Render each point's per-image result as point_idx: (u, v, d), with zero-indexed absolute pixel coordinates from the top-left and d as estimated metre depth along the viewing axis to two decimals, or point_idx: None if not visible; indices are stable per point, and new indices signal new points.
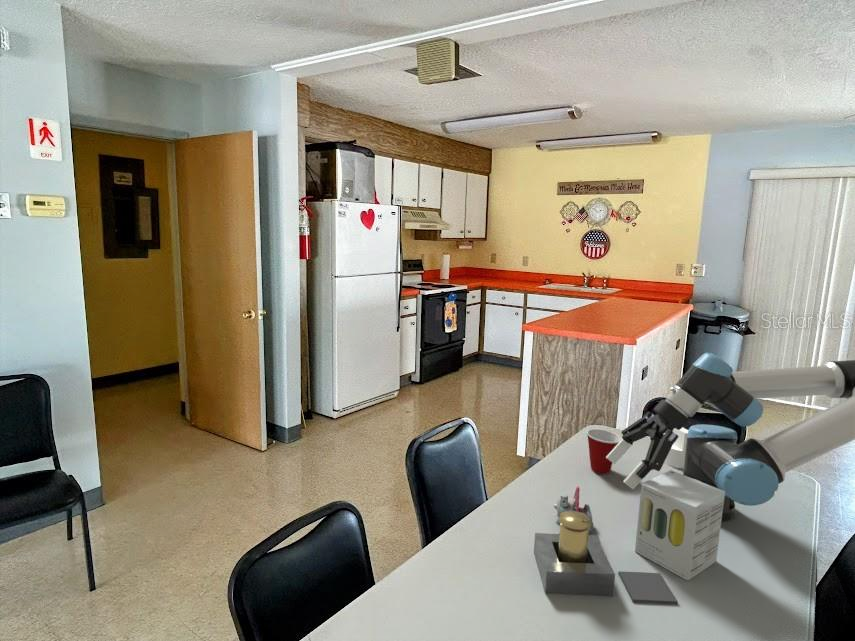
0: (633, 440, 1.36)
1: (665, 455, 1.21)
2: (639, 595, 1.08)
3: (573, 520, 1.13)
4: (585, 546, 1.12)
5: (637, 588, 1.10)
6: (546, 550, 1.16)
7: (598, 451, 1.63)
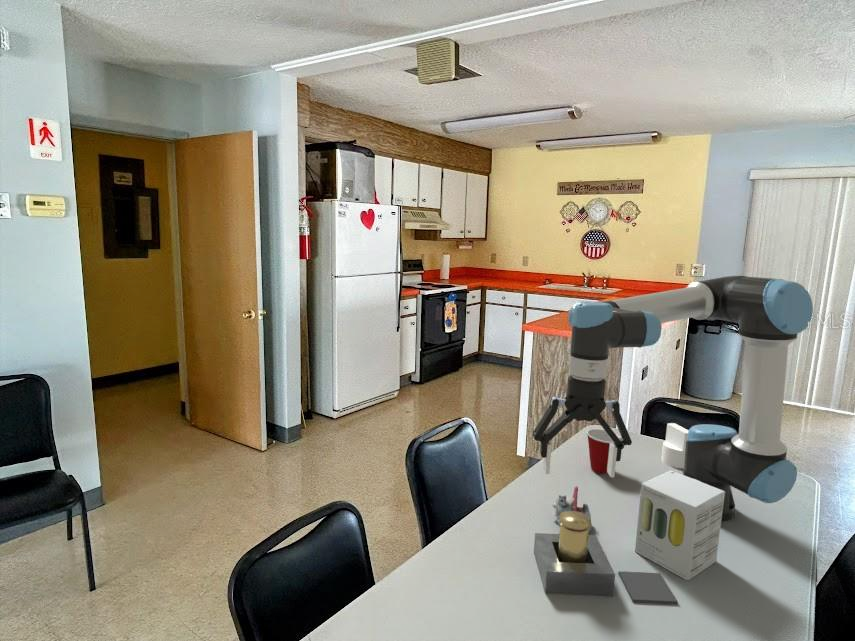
0: None
1: None
2: (639, 595, 1.08)
3: (573, 520, 1.13)
4: (585, 546, 1.12)
5: (637, 588, 1.10)
6: (546, 550, 1.16)
7: (598, 451, 1.63)
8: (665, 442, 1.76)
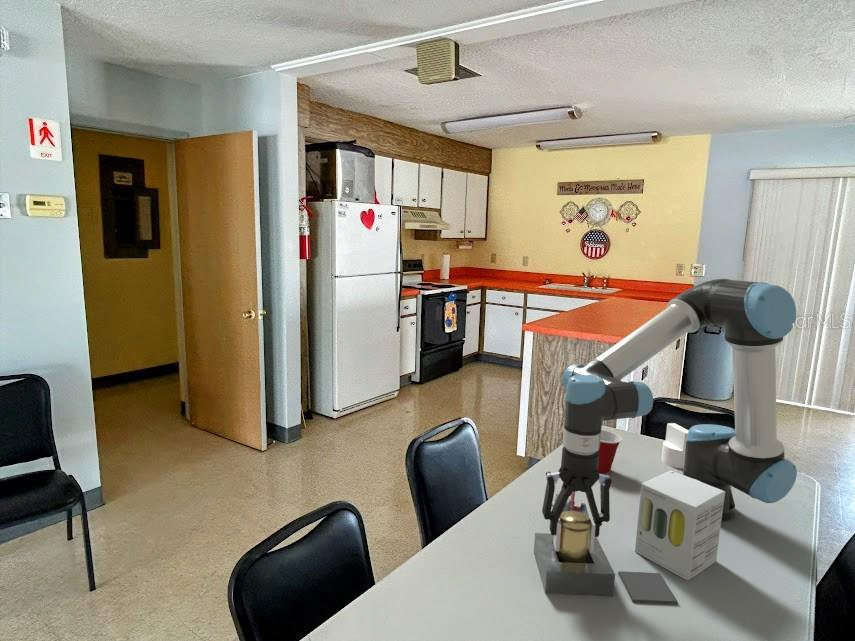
0: None
1: None
2: (639, 595, 1.08)
3: (573, 520, 1.13)
4: (585, 546, 1.12)
5: (637, 588, 1.10)
6: (546, 550, 1.16)
7: (598, 451, 1.63)
8: (665, 442, 1.76)
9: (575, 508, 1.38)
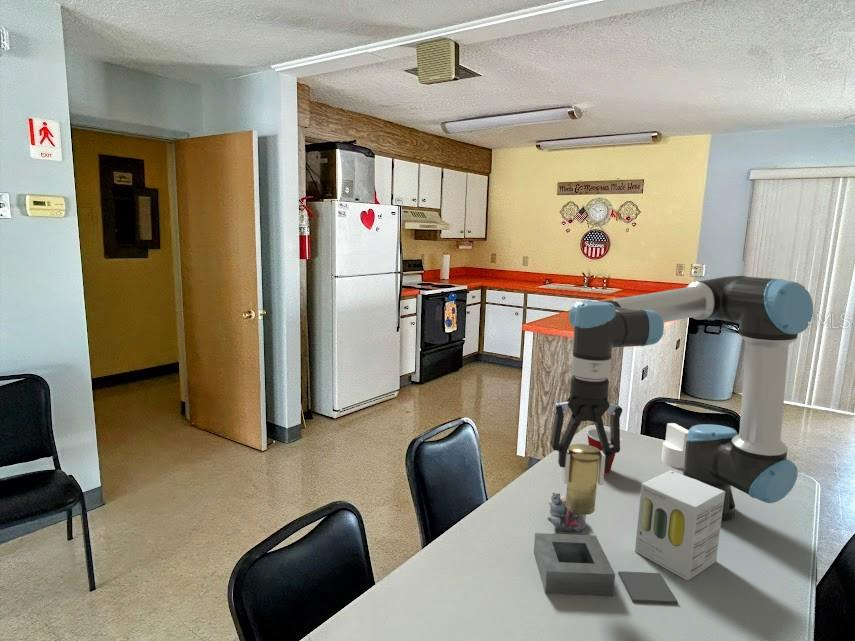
0: None
1: None
2: (639, 595, 1.08)
3: (582, 451, 1.10)
4: (594, 477, 1.09)
5: (637, 588, 1.10)
6: (546, 550, 1.16)
7: None
8: (665, 442, 1.76)
9: None
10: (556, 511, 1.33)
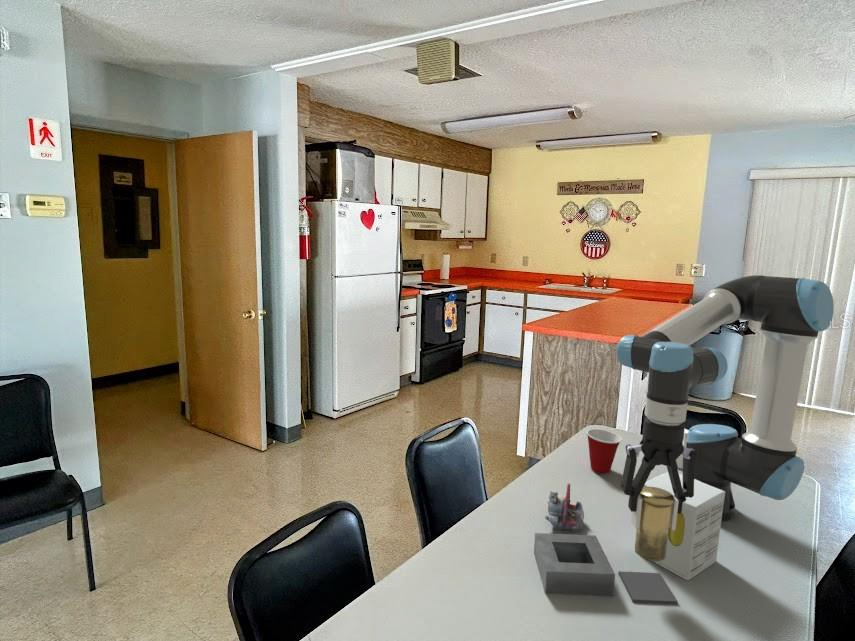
0: None
1: None
2: (639, 595, 1.08)
3: (655, 495, 1.07)
4: (667, 523, 1.06)
5: (637, 588, 1.10)
6: (546, 550, 1.16)
7: (598, 451, 1.63)
8: None
9: (571, 506, 1.38)
10: (553, 510, 1.34)
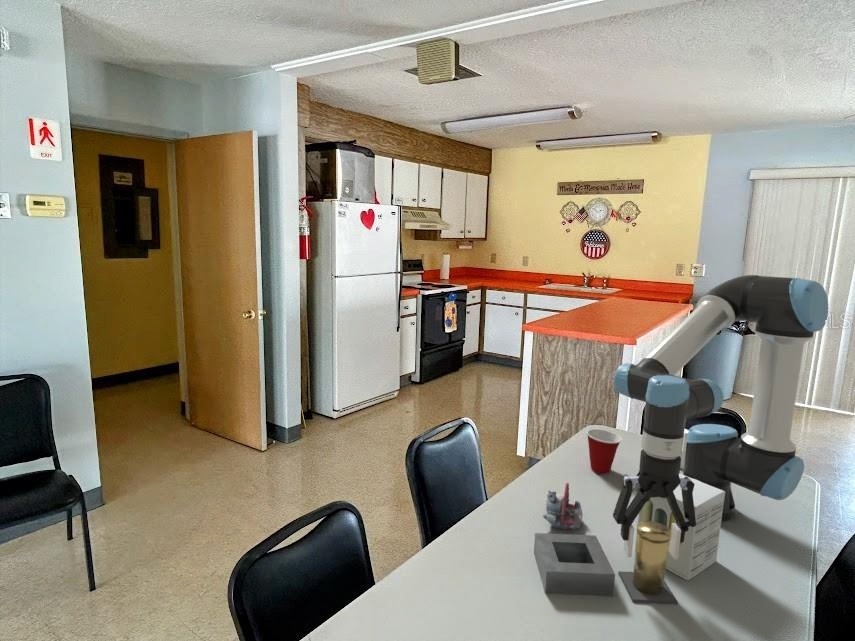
0: None
1: None
2: (639, 595, 1.08)
3: (652, 531, 1.08)
4: (665, 558, 1.08)
5: None
6: (546, 550, 1.16)
7: (598, 451, 1.63)
8: None
9: (570, 506, 1.39)
10: (552, 509, 1.34)
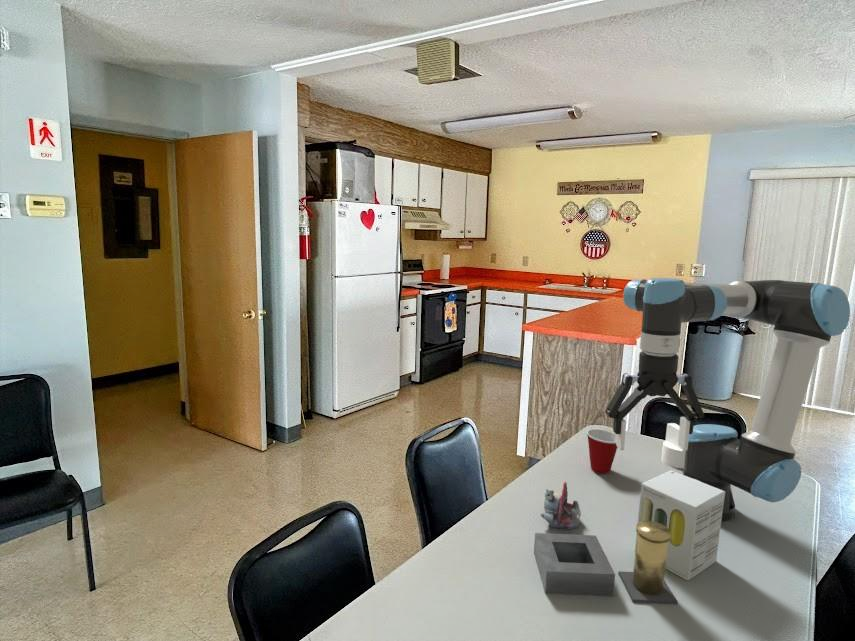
0: None
1: None
2: (639, 595, 1.08)
3: (652, 531, 1.08)
4: (664, 558, 1.08)
5: None
6: (546, 550, 1.16)
7: (598, 451, 1.63)
8: (665, 442, 1.76)
9: (568, 505, 1.39)
10: (549, 508, 1.35)
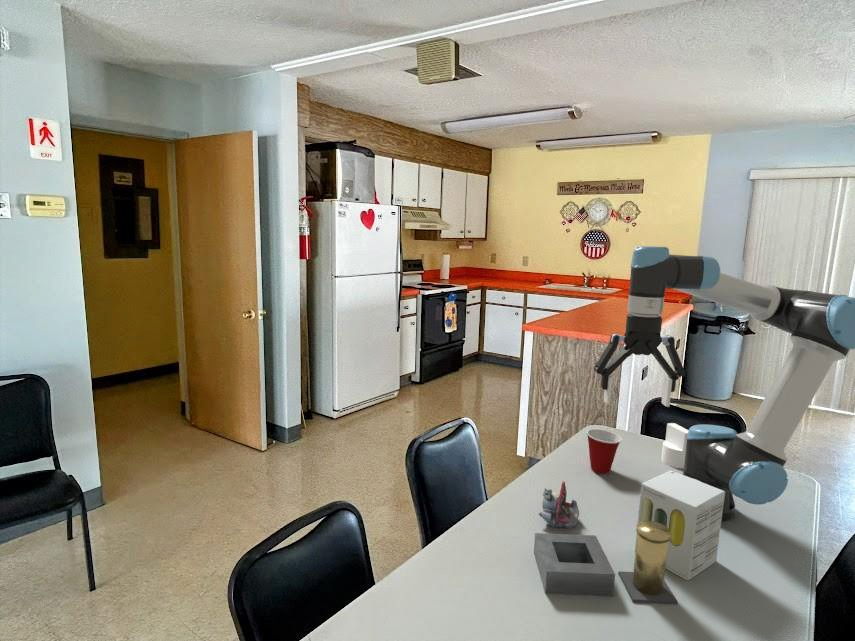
0: None
1: None
2: (639, 595, 1.08)
3: (652, 531, 1.08)
4: (665, 558, 1.08)
5: None
6: (546, 550, 1.16)
7: (598, 451, 1.63)
8: (665, 442, 1.76)
9: (567, 504, 1.39)
10: (548, 507, 1.35)
